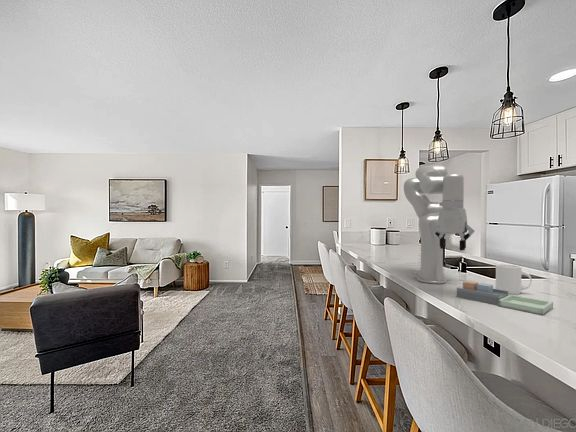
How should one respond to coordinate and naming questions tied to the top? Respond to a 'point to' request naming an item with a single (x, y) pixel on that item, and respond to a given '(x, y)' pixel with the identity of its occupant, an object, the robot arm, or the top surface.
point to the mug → (510, 278)
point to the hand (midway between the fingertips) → (452, 249)
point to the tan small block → (470, 285)
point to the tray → (525, 304)
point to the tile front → (485, 288)
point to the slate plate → (482, 295)
